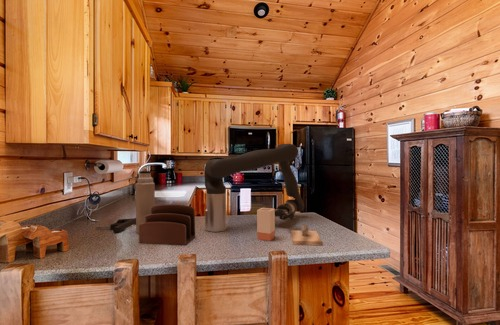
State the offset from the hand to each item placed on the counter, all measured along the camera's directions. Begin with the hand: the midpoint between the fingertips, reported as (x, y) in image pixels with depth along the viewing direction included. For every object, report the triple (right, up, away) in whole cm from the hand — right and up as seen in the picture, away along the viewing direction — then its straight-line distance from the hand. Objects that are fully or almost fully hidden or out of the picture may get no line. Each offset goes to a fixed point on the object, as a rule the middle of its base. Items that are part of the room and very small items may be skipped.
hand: (274, 217), depth 110 cm
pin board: (+11, -7, -11) cm, 17 cm away
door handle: (-77, -8, +10) cm, 78 cm away
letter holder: (-45, -7, -11) cm, 47 cm away
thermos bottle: (-60, -7, +2) cm, 60 cm away
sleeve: (-4, -7, -9) cm, 12 cm away
